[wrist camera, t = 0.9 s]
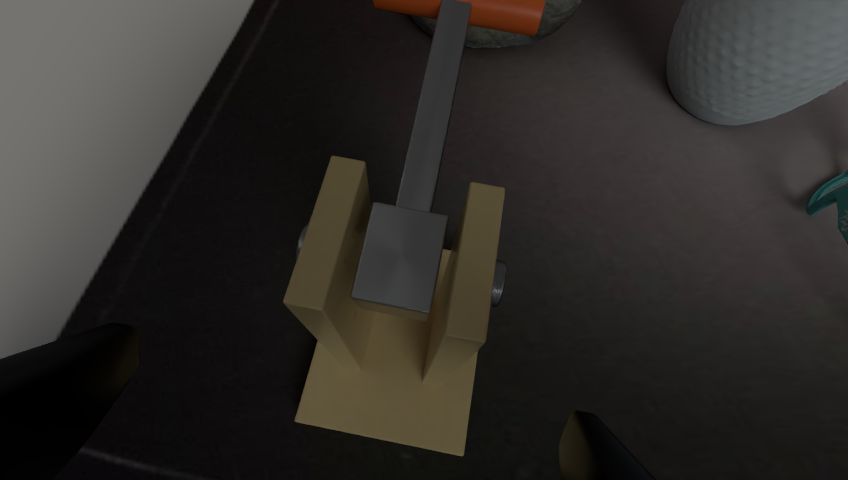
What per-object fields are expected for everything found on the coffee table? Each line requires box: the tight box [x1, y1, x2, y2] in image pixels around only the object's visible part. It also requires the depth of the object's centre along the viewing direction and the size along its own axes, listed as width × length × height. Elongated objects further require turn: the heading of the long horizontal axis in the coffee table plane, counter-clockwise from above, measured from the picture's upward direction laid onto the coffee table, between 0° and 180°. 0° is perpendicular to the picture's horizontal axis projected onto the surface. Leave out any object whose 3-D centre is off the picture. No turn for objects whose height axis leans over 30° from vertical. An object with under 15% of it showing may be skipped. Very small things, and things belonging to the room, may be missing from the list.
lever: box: [350, 0, 545, 322], centre depth 14 cm, size 12×6×2 cm, turn 169°
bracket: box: [283, 156, 506, 456], centre depth 17 cm, size 10×8×13 cm
